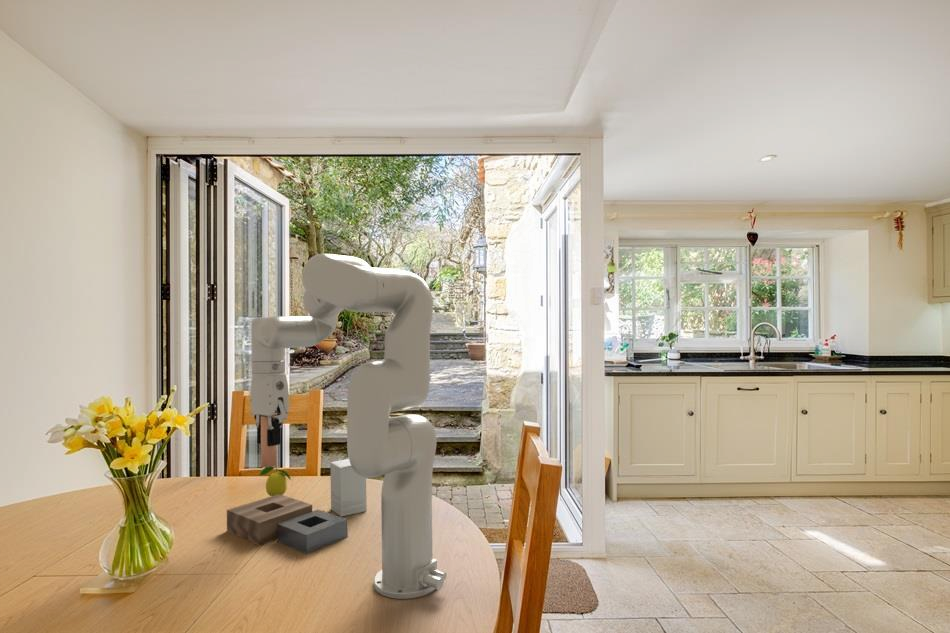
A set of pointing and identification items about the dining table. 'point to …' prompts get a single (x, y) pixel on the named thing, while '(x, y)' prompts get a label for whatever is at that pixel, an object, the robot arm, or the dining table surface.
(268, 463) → the pin
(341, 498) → the supplement box
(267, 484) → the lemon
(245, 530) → the socket block
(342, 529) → the pin mount
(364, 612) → the dining table surface
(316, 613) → the dining table surface
